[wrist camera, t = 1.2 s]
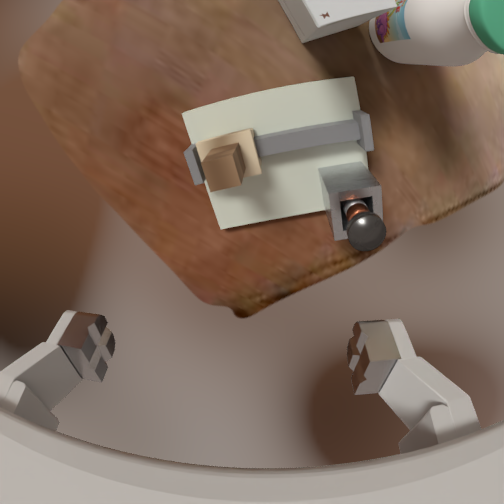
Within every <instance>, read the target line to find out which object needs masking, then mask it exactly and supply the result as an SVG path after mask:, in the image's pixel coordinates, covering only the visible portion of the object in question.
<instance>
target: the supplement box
mask: <svg viewBox="0 0 504 504" xmlns="http://www.w3.org/2000/svg"><path fill="white" fill-rule="evenodd" d="M278 1H279V3H280V5H281V6H282V8H283V10H284V12H285V13H286V15H287V17H288V19H289V20H290V22H291V24H292V26H293V27H294V29H295V31H296V33H297V35H298V37H299V38H300V40H301V42H302V43H305V42H308V41H311V40H314V39H317V38H321V37H324V36H327V35H330V34H334V33H337V32H340V31H343V30H347V29H350V28H354V27H357V26H359V25H361V24H363V23H365V22H367V21H369V20H371V19H373V18H375V17H377V16H379V15H382V14H384V13H386V12H388V11H390V10H392V9H395V8H397V4H396V2H395V0H278Z"/></svg>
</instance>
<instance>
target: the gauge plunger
mask: <svg viewBox="0 0 504 504" xmlns="http://www.w3.org/2000/svg"><path fill="white" fill-rule="evenodd" d="M340 204H341V206H342V208H343V210H344V213H345V215H346V217H347V220H348V225H347V229H346V233H347V236H348V239H349V242H350V244H351V245H352V246H353V247H354V248H355V249H357V250H360V251H370V250H373V249H375V248H377V247H378V246H379V245H380V244H381V243H382V242H383V241H384V239H385V236H386V227H385V225H384V223H383V221H382V220H381V218H380V217H379V216H378V215H377V214H376V213H373V212H370V211H369V210H368V208H367V206H366V204H365V203H364V201H363V199H362V198H357V199H351V200H345V201H340Z"/></svg>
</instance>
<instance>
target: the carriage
mask: <svg viewBox="0 0 504 504" xmlns="http://www.w3.org/2000/svg"><path fill="white" fill-rule="evenodd" d="M254 135H255V134H254V130H253V128H248V129H244V130H240V131H236V132H232V133H228V134H224V135H220V136H216V137H213V138H209V139H205V140H202V141H198V142H197V143H196V144H195V145H196V148H197V151H198V154H199V157H200V160H201V165H202V168H203V171H204V174H205V177H206V180H207V183H208V186H209V189H210V192H214V191H218V190H223V189H227V188H232V187H236V186H241V184H242V181H243V178H245V177H249V176H254V175H259V174H262V168H261V165H262V160H261V157H258V153H257V149H256V145H255V141H254Z"/></svg>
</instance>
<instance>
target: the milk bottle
mask: <svg viewBox="0 0 504 504" xmlns="http://www.w3.org/2000/svg"><path fill="white" fill-rule="evenodd" d="M395 2H396V4H397V8H395V9H392V10H390V11H388V12H386V13H384V14H382V15H379V16H377V17H375V18H373V19H371V20H370V22H369V33H370V37H371V40H372V42H373V44H374V45H375V47H376V48H377V50H378V51H379V52H380V53H381V54H382V55H384V56H385V57H386V58H388V59H390V60H392V61H394V62H397V63H402V64H416V65H433V66H462V65H466V64H469V63H472V62H474V61H476V60H477V59H479V58H480V57H481V56H482V55H483V54H484V53H485V52H487V51H489V52H491V53H495V54H504V0H395Z"/></svg>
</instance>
